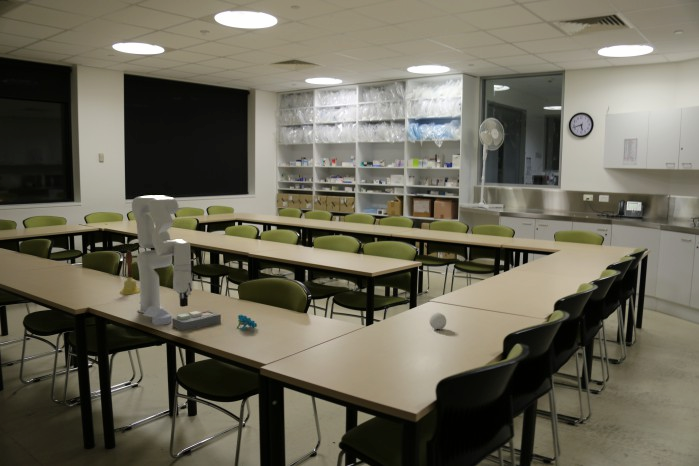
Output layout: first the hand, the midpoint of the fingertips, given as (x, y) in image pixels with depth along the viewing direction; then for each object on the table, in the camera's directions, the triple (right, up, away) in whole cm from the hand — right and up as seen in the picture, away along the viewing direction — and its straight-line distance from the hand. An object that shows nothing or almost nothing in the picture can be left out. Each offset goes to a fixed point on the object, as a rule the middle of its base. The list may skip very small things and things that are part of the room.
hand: (183, 306), depth 256 cm
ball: (+120, -12, +2) cm, 121 cm away
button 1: (0, -7, +1) cm, 8 cm away
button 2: (+4, -7, +6) cm, 10 cm away
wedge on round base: (-15, -9, +9) cm, 20 cm away
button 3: (+8, -8, +11) cm, 16 cm away
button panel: (+5, -10, +5) cm, 12 cm away
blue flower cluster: (+30, -11, -1) cm, 32 cm away
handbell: (-53, -1, +69) cm, 87 cm away
